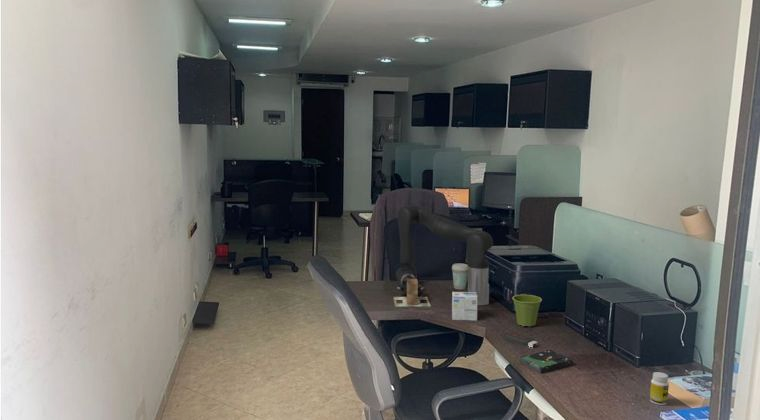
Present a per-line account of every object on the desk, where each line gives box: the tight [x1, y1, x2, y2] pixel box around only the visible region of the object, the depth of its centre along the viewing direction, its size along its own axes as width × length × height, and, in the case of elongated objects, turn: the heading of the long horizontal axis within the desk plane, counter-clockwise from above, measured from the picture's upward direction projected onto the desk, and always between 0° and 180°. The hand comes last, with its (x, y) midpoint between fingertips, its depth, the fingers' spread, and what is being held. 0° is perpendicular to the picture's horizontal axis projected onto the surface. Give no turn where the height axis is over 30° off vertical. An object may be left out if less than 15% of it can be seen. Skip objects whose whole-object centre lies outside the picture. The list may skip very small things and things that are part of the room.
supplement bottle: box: [649, 371, 670, 406], centre depth 170 cm, size 5×5×8 cm
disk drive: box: [519, 349, 573, 375], centre depth 197 cm, size 10×3×15 cm
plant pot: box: [511, 294, 543, 327], centre depth 237 cm, size 12×12×11 cm
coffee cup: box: [451, 262, 469, 290], centre depth 293 cm, size 8×9×12 cm
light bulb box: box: [451, 291, 478, 322], centre depth 245 cm, size 11×7×11 cm, turn 84°
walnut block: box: [406, 278, 419, 305], centre depth 260 cm, size 4×4×11 cm
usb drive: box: [503, 332, 539, 349], centre depth 217 cm, size 5×12×3 cm, turn 41°
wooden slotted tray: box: [392, 296, 431, 307], centre depth 265 cm, size 16×15×2 cm
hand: (411, 292), depth 263 cm, fingers closed
